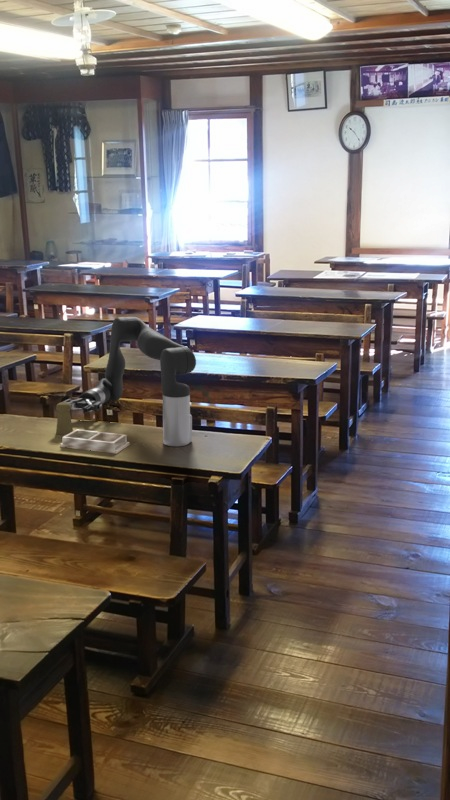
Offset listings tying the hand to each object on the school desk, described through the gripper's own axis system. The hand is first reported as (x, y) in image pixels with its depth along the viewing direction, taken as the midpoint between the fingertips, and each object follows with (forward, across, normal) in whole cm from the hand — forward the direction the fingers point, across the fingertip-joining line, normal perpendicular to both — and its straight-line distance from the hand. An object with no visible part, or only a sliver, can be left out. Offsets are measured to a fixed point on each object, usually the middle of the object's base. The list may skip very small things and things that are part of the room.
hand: (73, 409), depth 288 cm
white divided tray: (+19, +17, +6) cm, 26 cm away
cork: (+8, 0, +7) cm, 10 cm away
